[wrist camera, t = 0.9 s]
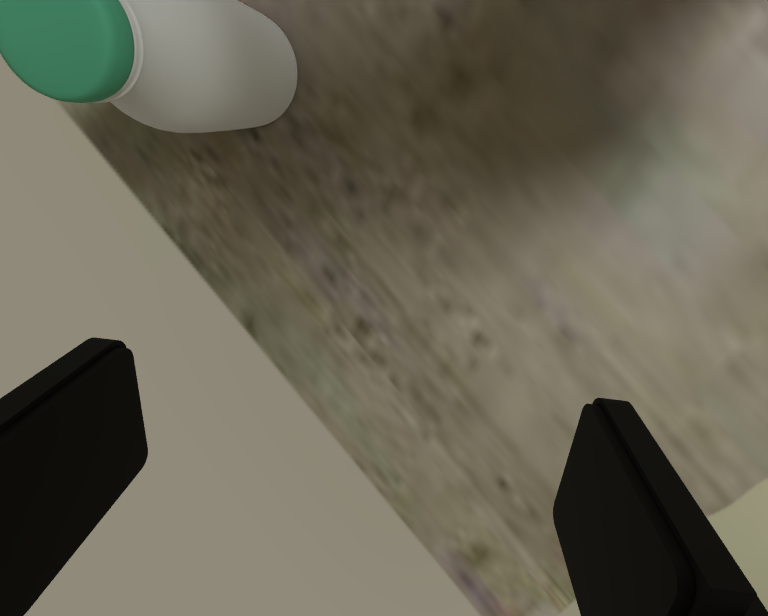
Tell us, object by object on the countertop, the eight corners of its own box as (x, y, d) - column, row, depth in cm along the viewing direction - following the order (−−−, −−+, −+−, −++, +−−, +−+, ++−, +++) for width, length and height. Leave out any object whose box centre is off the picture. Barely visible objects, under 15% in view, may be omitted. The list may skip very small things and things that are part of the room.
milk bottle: (310, 29, 33) (164, -67, 15) (288, 140, 36) (144, 173, 18) (204, -5, 33) (-75, -146, 15) (191, 109, 36) (-54, 111, 18)
